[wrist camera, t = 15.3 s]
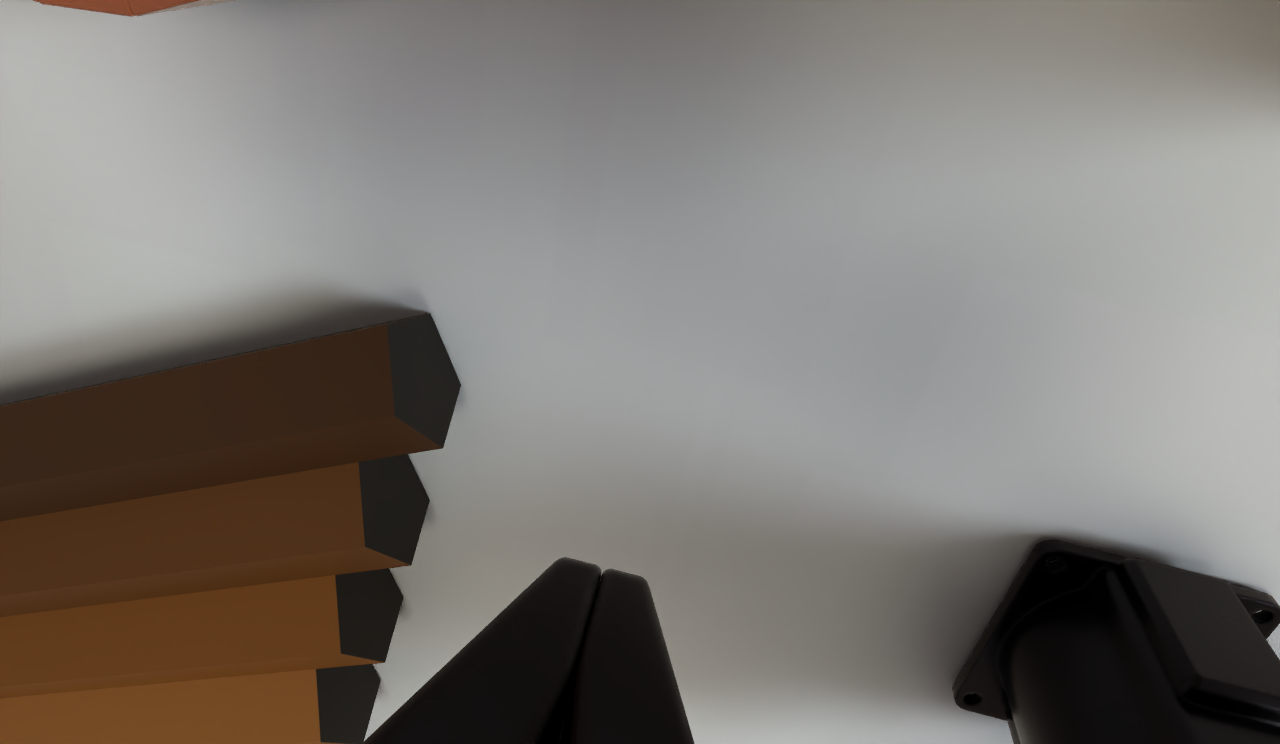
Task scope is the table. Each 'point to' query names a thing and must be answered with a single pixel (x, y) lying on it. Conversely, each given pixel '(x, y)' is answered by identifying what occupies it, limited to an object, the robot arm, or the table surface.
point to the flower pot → (130, 5)
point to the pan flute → (216, 542)
